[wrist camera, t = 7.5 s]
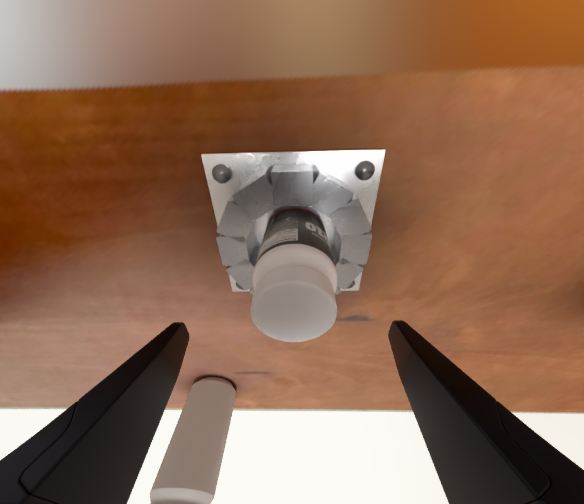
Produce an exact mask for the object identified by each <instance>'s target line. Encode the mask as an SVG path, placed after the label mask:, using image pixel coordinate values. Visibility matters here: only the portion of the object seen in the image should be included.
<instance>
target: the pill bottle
mask: <svg viewBox="0 0 584 504" xmlns="http://www.w3.org/2000/svg"><path fill="white" fill-rule="evenodd" d="M253 287H254V292H253V300H252V305H251V317H252V320H253V322H254V324H255V325H256V327H257V328H258V329H259V330H260V331H261V332H262V333H264V334H265V335H267V336H269V337H271V338H273V339H276V340H280V341H285V342H302V341H307V340H311V339H314V338H317V337H319V336H321V335H322V334H324V333H325V332H327V331H328V330H329V329H330V328H331V327H332V325H333V324H334V322H335V320H336V317H337V305H336V299H335V291H336V288H337V270H336V266H335V263H334V259H333V256H332V253H331V249H330V245H329V242H328V238H327V234H326V231H325V227H324V225H323V223H322V221H321V220H320V218H319V217H318V216H317V215H316V214H314V213H313V212H311V211H309V210H307V209H304V208H298V207H295V208H287V209H284V210H282V211H280V212H278V213H276V214H275V215H274V216H273V217H272V218H271V219H270V221H269V223H268V225H267V227H266V230H265V234H264V237H263V241H262V244H261V247H260V251H259V254H258V258H257V261H256V264H255V267H254V272H253Z"/></svg>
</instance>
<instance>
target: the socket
mask: <svg viewBox="0 0 584 504" xmlns="http://www.w3.org/2000/svg"><path fill="white" fill-rule="evenodd" d="M201 156H202V161H203V165H204V169H205V174H206V178H207V182H208V187H209V191H210V195H211V200H212V204H213V208H214V213H215V217H216V221H217V226H218V228H217V230H216V232H218V234H217V236H216V240H217V244H218V248H219V252H220V256H221V260H222V265H223V266H227V267H226V269H225V270H226V271H227V272H228V273H229V277H230V282H231V286H232V290H233V292H234V291H250V292H249V294H252V295H253V292H254V287H253V272H254V267H255V264H256V261H257V258H258V254H259V251H260V247H261V244H262V241H263V237H264V234H265V230H266V227H267V225H268V223H269V221H270V219H271V218H272V217H273V216H274V215H275V214H276V213H278V212H280V211H282V210H284V209H287V208H295V207H298V208H304V209H307V210H309V211H311V212H313V213H314V214H316V215H317V216H318V217H319V218H320V220H321V221H322V223H323V225H324V227H325V231H326V234H327V238H328V242H329V245H330V249H331V253H332V256H333V259H334V263H335V266H336V270H337V288H336V291H335V295H337V294H339V293H341V291H356V290H359V286H360V281H361V276H362V271H363V270H364V266H363V265H364V264H367V260H368V255H369V250H370V245H371V240H372V235H373V234H372V233H371V231H370V230H372V228H371V224H372V218H373V213H374V208H375V203H376V197H377V192H378V187H379V182H380V177H381V171H382V166H383V161H384V156H385V149H354V150H314V151H275V152H235V153H204V154H201Z"/></svg>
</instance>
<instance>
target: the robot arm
mask: <svg viewBox="0 0 584 504" xmlns="http://www.w3.org/2000/svg"><path fill="white" fill-rule="evenodd" d="M388 335H389V341H390V344H391V348H392V351H393V355H394V359H395V362H396V366H397V369H398V373H399V376H400V379H401V381H402V384H403V386H404V389H405V392H406V394H407V397H408V399H409V402H410V404H411V407H412V410H413V412H414V415H415V417H416V420H417V422H418V425H419V427H420V430H421V432H422V435H423V438H424V440H425V443H426V445H427V448H428V451H429V453H430V456H431V458H432V461H433V463H434V466H435V469H436V471H437V474H438V476H439V479H440V481H441V484H442V486H443V489H444V492H445V494H446V497H447V499H448V502H449V504H584V470H583V469H582V468H580V467H579V466H578V465H576V464H575V463H574V462H572V461H571V460H570V459H569V458H567V457H566V456H565V455H563V454H562V453H561V452H559V451H558V450H557V449H556V448H554V447H553V446H552V445H551V444H549V443H548V442H547V441H546V440H544V439H543V438H542V437H540V436H539V435H538V434H536V433H535V432H534V431H533V430H532V429H530V428H529V427H528V426H527V425H526V424H524V423H523V422H522V421H521V420H519V419H518V418H517V417H516V416H515V415H514V414H512V413H511V412H510V411H509V410H508V409H506V408H505V407H504V406H503V405H502V404H501V403H499V402H498V401H496V400H495V398H493V397H492V396H491V395H490V394H489V393H488V392H486V391H485V390H484V389H483V388H482V387H481V386H479V385H478V384H477V383H476V382H475V381H474V380H472V379H471V378H470V377H469V376H468V375H467V374H465V373H464V372H463V371H462V370H461V369H460V368H458V367H457V366H456V365H455V364H454V363H453V362H451V361H450V360H449V359H448V358H447V357H446V356H444V355H443V354H442V353H441V352H440V351H439V350H437V349H436V348H435V347H434V346H433V345H431V344H430V343H429V342H428V341H427V340H426V339H424V338H423V337H422V336H421V335H420V334H419V333H417V332H416V331H415V330H414V329H413V328H412V327H410V326H409V325H408V324H407V323H406V322H404V321H401V320H397V321H393V322H392V324H391V327H390V330H389V334H388ZM188 341H189V333H188V331H187V328H186V326H185V324H184V323H182V322H175V323H172V324H171V325H170V326H169V327H167V328H166V329H165V330H164V331H162V332H161V333H160V334H159V335H157V336H156V337H155V338H154V339H153V340H151V341H150V342H149V343H148V344H146V345H145V346H144V347H143V348H142V349H140V350H139V351H138V352H137V353H135V354H134V355H133V356H132V357H131V358H129V359H128V360H127V361H126V362H124V363H123V364H122V365H121V366H120V367H118V368H117V369H116V370H115V371H113V372H112V373H111V374H110V375H109V376H107V377H106V378H105V379H104V380H102V381H101V382H100V383H99V384H97V385H96V386H95V387H94V388H93V389H91V390H90V391H89V392H88V393H86V394H85V395H84V396H83V397H82V398H80V399H79V401H77V402H75V403H74V404H73V405H72V406H70V407H69V408H68V409H67V410H66V411H64V412H63V413H62V414H61V415H59V416H58V417H57V418H56V419H54V420H53V421H52V422H51V423H49V424H48V425H47V426H46V427H44V428H43V429H42V430H40V431H39V432H38V433H36V434H35V435H34V436H33V437H31V438H30V439H29V440H27V441H26V442H25V443H23V444H22V445H21V446H19V447H18V448H17V449H15V450H14V451H13V452H11V453H10V454H8V455H7V456H6V457H5V458H3V459H2V460H0V504H127V501H128V499H129V497H130V494H131V492H132V489H133V487H134V484H135V481H136V479H137V477H138V474H139V471H140V469H141V467H142V464H143V462H144V459H145V457H146V454H147V452H148V449H149V447H150V444H151V442H152V440H153V437H154V435H155V432H156V430H157V427H158V425H159V422H160V420H161V417H162V415H163V412H164V410H165V408H166V405H167V403H168V400H169V398H170V395H171V393H172V390H173V388H174V385H175V383H176V380H177V378H178V375H179V372H180V369H181V365H182V362H183V358H184V355H185V352H186V348H187V345H188Z"/></svg>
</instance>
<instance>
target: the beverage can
mask: <svg viewBox="0 0 584 504" xmlns="http://www.w3.org/2000/svg"><path fill="white" fill-rule="evenodd" d="M235 397H236V391H235V389H234V388H233V385H232V384H231V383H230V382H229V381H227V380H225V379H222V378H217V377H207V378H203V379H201V380H200V381H197V382H196V383H194V384H193V385H192V387H191V390H190V392H189V395H188V397H187V400H186V402H185V405H184V408H183V410H182V413H181V415H180V418H179V421H178V424H177V426H176V428H175V431H174V433H173V436H172V438H171V441H170V444H169V446H168V449H167V451H166V454H165V456H164V459H163V461H162V464H161V466H160V469H159V472H158V474H157V477H156V479H155V482H154V484H153V487H152V490H151V492H150V499H151V504H210V503H211V502H212V500H213V498H214V495H215V490H216V485H217V480H218V476H219V471H220V466H221V462H222V457H223V453H224V448H225V443H226V438H227V434H228V430H229V425H230V420H231V416H232V411H233V406H234V402H235Z"/></svg>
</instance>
